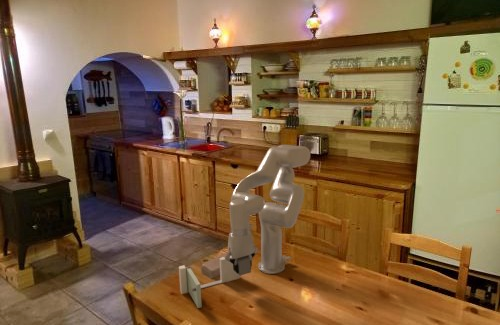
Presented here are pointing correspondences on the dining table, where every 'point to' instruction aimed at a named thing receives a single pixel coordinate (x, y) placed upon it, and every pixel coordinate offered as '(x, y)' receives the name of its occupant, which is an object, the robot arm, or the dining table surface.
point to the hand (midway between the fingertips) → (242, 269)
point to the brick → (212, 267)
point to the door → (193, 287)
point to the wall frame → (225, 276)
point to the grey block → (244, 265)
